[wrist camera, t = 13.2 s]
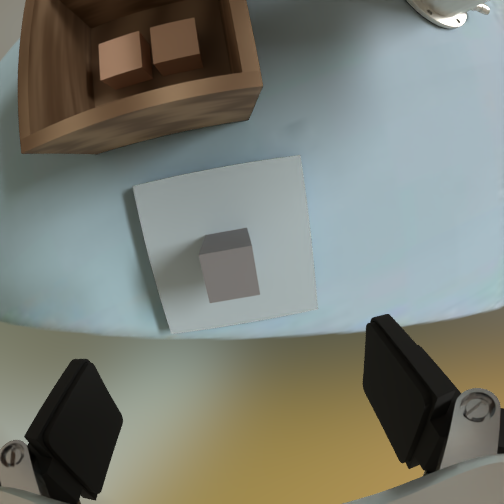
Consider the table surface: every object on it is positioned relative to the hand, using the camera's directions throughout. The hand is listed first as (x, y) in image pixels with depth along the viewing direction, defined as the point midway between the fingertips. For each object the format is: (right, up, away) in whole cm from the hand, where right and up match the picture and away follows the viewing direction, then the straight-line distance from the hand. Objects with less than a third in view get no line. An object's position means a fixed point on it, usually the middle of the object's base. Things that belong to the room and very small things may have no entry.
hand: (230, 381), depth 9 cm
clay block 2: (-6, +23, +15) cm, 28 cm away
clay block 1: (-11, +23, +15) cm, 29 cm away
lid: (-1, +5, +21) cm, 22 cm away
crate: (-9, +23, +16) cm, 29 cm away
